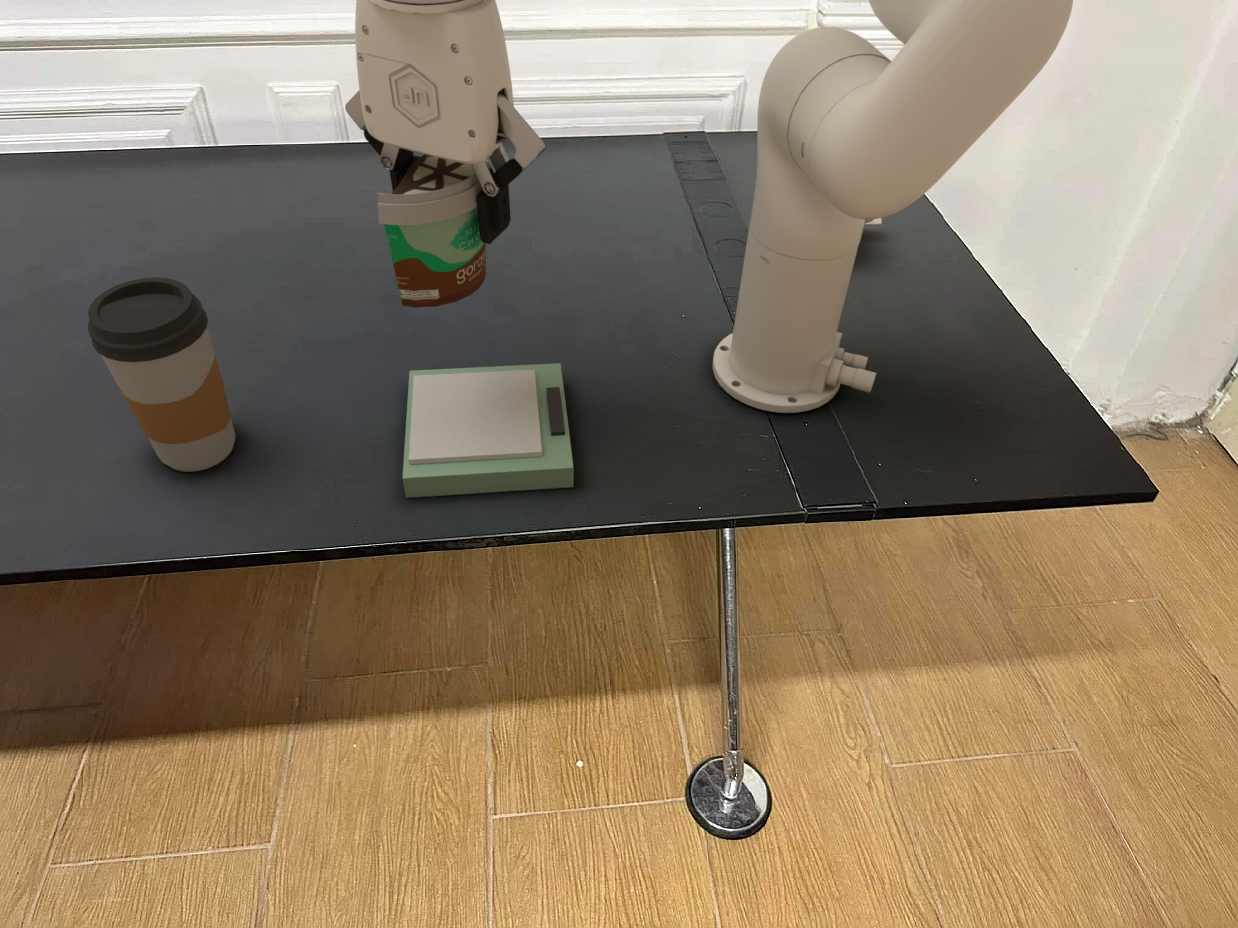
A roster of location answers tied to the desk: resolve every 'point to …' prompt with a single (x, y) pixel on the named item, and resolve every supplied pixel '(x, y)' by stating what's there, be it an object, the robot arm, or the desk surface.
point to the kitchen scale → (486, 431)
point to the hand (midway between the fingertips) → (453, 222)
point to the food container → (435, 232)
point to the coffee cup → (165, 369)
